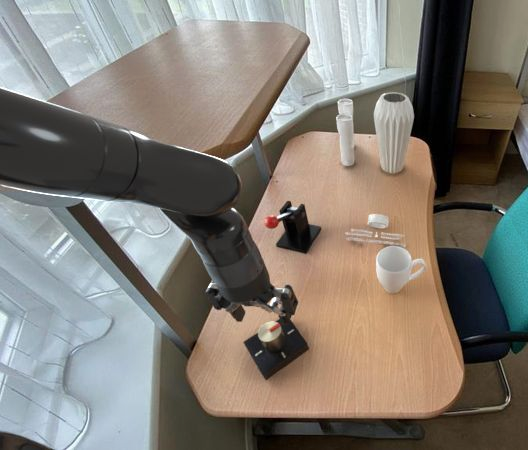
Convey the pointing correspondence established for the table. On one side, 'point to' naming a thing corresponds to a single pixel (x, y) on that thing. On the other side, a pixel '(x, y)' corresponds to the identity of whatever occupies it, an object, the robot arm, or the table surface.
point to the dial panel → (278, 360)
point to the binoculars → (346, 131)
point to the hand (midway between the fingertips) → (264, 319)
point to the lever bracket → (297, 230)
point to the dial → (272, 336)
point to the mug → (396, 268)
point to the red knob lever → (279, 218)
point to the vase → (393, 129)
